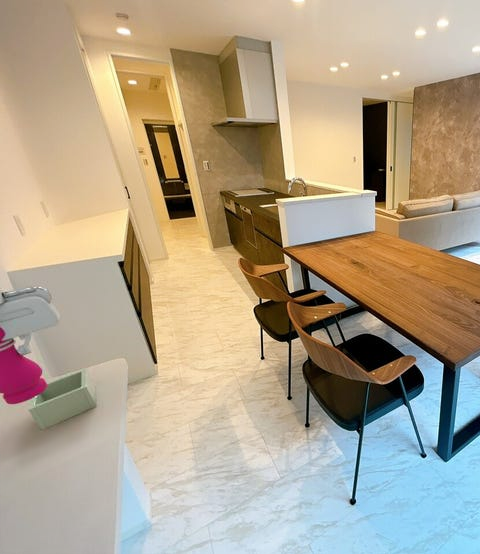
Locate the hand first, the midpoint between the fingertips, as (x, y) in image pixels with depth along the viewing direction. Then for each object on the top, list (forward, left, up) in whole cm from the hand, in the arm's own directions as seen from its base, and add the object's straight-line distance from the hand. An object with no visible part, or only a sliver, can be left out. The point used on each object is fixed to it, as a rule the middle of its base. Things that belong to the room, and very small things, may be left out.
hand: (6, 359), depth 62 cm
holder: (+1, +17, -26) cm, 31 cm away
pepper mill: (0, 0, -9) cm, 9 cm away
